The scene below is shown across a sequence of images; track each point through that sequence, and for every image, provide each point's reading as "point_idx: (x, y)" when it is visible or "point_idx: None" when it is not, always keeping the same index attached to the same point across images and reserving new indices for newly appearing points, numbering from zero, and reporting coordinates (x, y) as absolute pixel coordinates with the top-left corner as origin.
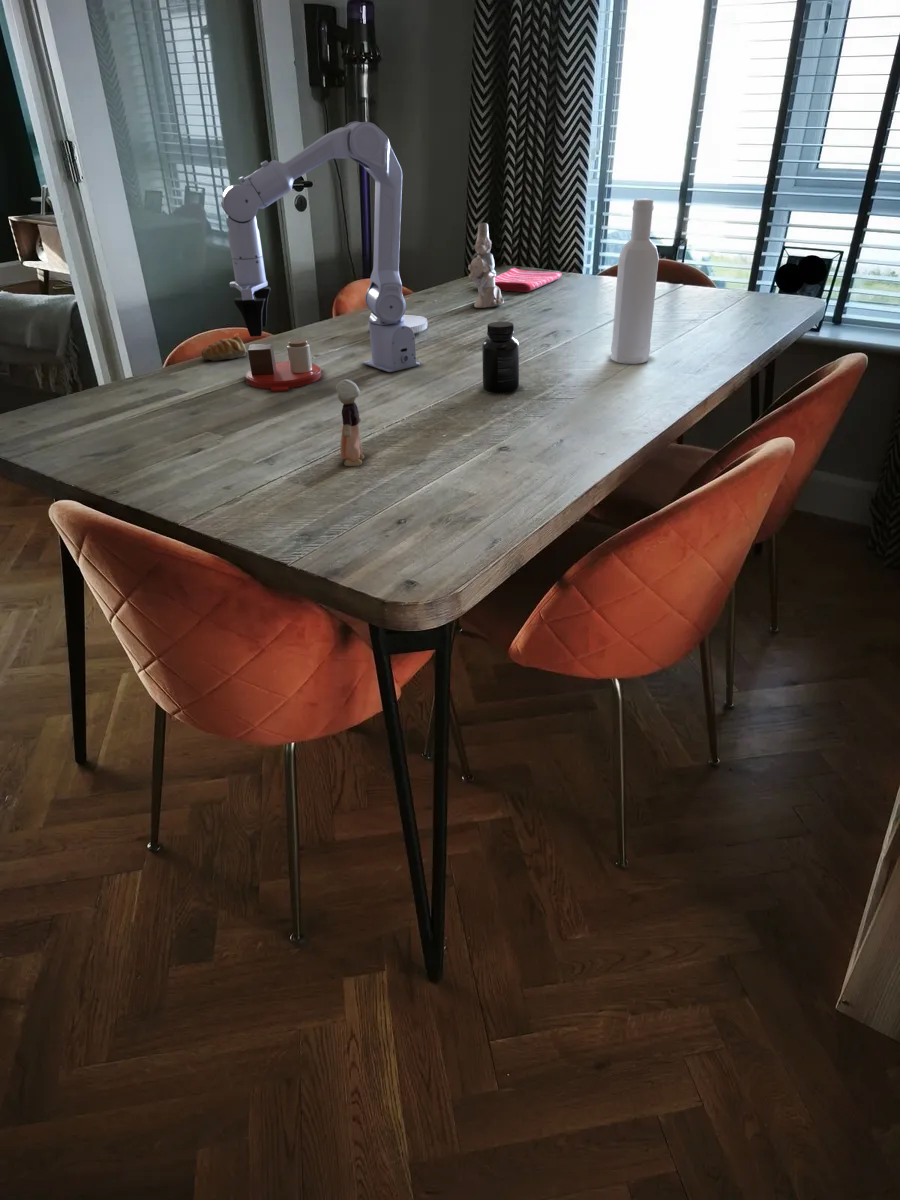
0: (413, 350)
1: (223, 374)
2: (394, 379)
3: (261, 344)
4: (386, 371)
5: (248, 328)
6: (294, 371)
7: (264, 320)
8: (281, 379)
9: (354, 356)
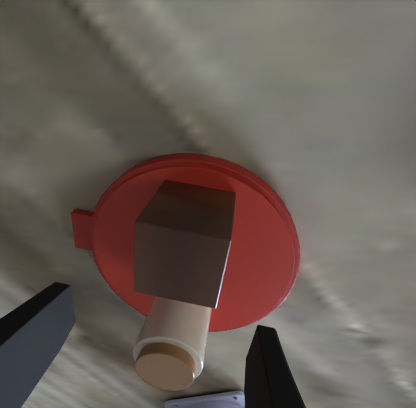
0: None
1: (314, 71)
2: (128, 394)
3: (214, 276)
4: (171, 400)
5: (16, 312)
6: None
7: (247, 390)
8: (109, 248)
9: (315, 391)
